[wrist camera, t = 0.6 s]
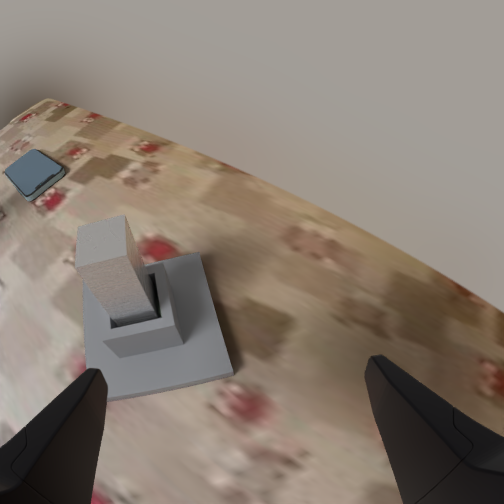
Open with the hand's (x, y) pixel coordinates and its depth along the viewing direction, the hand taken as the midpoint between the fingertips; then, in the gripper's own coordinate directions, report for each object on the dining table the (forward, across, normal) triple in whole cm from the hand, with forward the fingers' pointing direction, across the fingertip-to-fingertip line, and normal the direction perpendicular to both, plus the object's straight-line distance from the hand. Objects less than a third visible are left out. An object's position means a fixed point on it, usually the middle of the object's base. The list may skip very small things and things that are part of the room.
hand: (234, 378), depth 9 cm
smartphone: (+38, +32, -2) cm, 50 cm away
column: (+14, +8, +8) cm, 18 cm away
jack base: (+15, +8, +10) cm, 19 cm away
